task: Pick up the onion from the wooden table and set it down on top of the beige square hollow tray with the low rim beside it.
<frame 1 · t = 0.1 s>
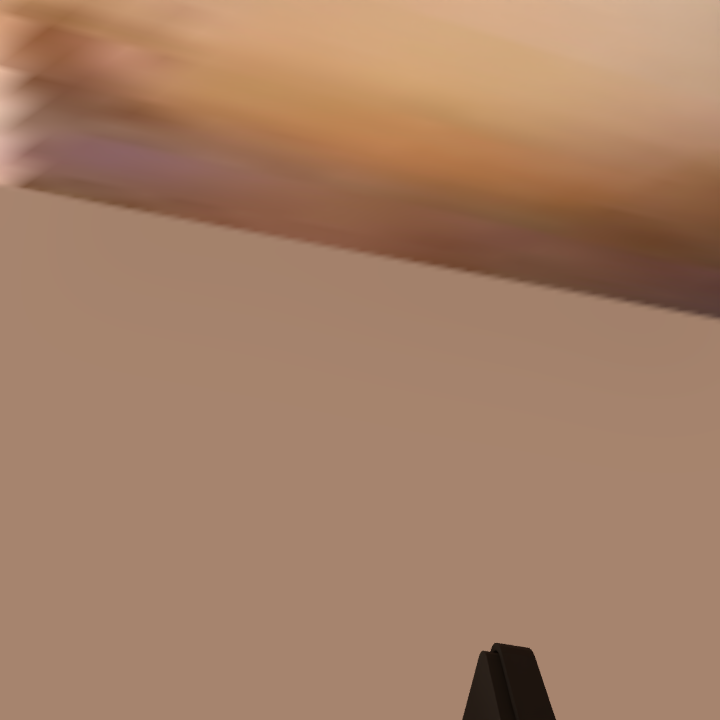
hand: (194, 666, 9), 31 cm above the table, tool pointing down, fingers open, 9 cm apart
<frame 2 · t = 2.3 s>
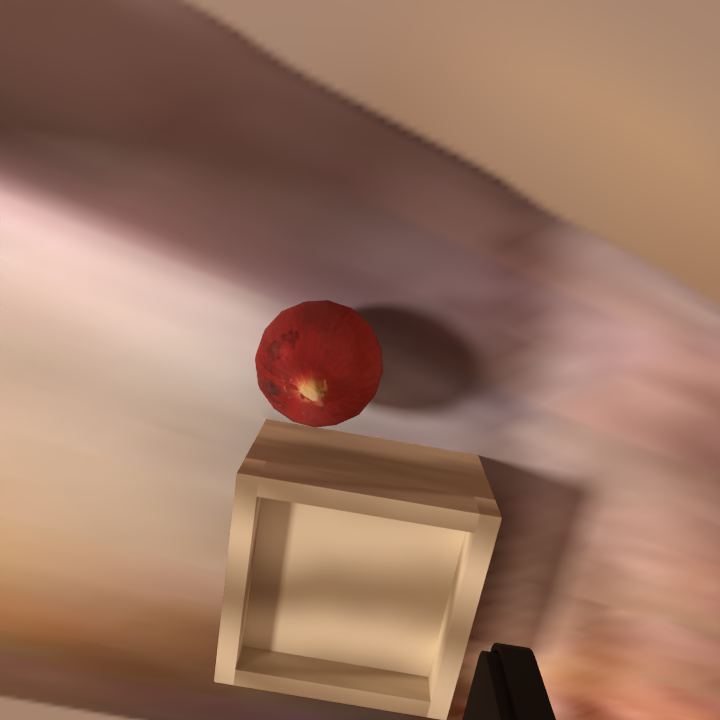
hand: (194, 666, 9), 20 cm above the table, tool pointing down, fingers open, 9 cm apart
beige square hollow tray: (355, 526, 32), on the table
onion: (327, 342, 28), on the table
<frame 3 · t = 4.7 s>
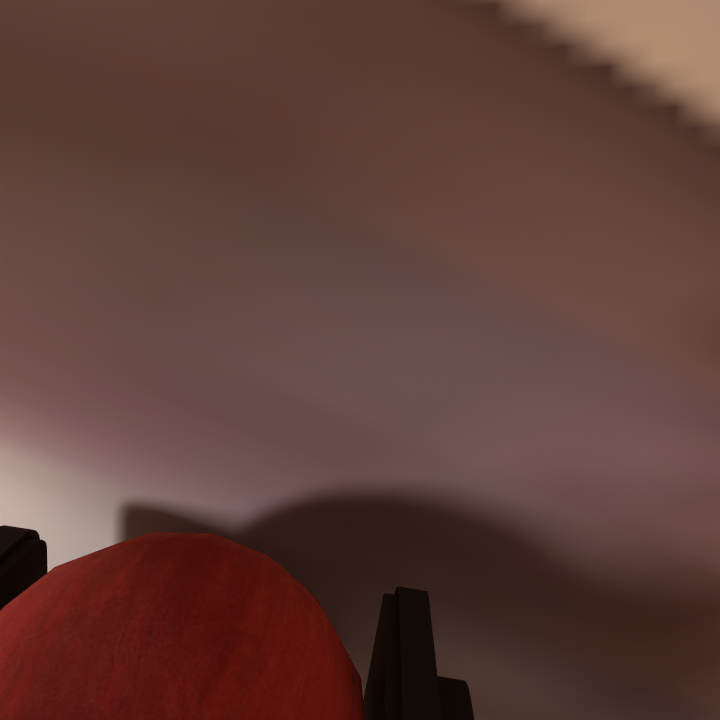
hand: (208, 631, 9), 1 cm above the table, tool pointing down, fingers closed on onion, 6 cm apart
onion: (232, 571, 11), on the table, touching gripper
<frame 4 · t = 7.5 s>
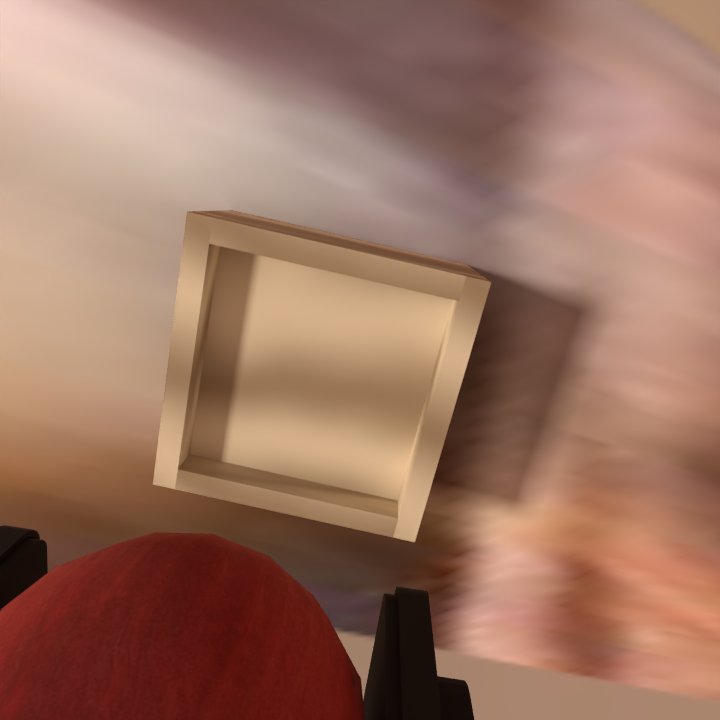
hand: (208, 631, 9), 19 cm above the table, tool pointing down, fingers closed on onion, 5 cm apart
beige square hollow tray: (326, 349, 28), on the table
onion: (232, 572, 11), point 18 cm above the table, touching gripper
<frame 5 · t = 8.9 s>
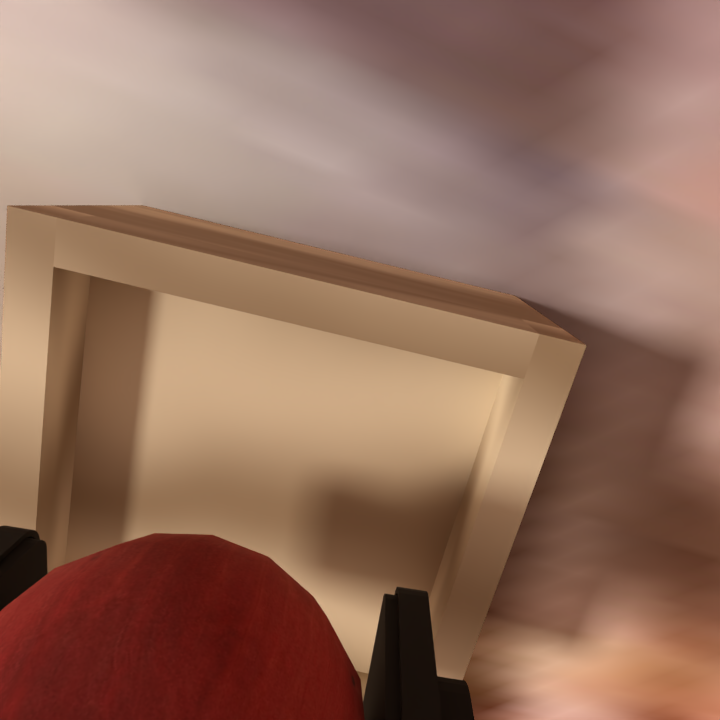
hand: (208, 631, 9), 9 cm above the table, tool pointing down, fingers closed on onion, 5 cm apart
beige square hollow tray: (294, 419, 19), on the table
onion: (232, 572, 11), point 8 cm above the table, touching gripper
when the fingers open (7 cm above the table, at t = 10.2 s): onion stays where it is, resting on beige square hollow tray.
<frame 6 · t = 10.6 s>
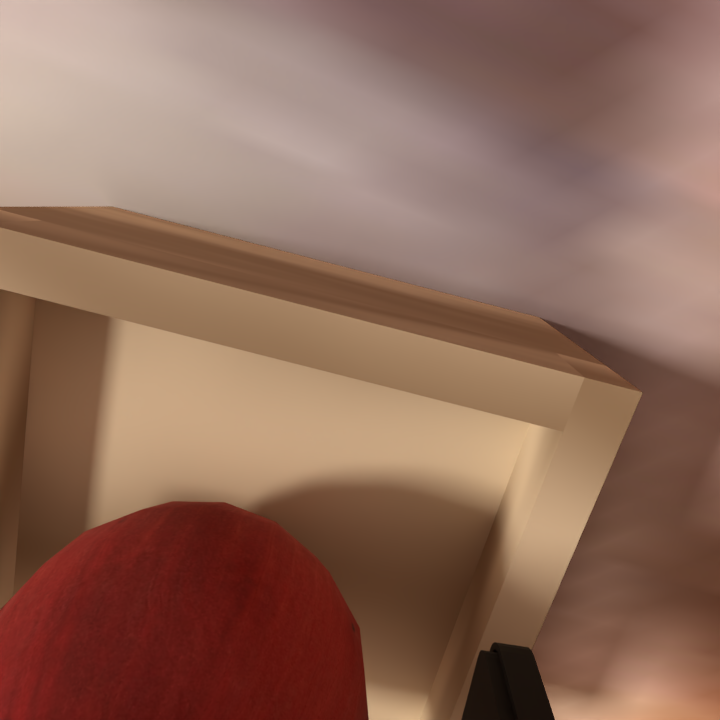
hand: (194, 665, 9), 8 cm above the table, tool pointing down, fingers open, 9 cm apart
beige square hollow tray: (285, 450, 17), on the table, touching onion
onion: (240, 541, 12), point 4 cm above the table, touching beige square hollow tray
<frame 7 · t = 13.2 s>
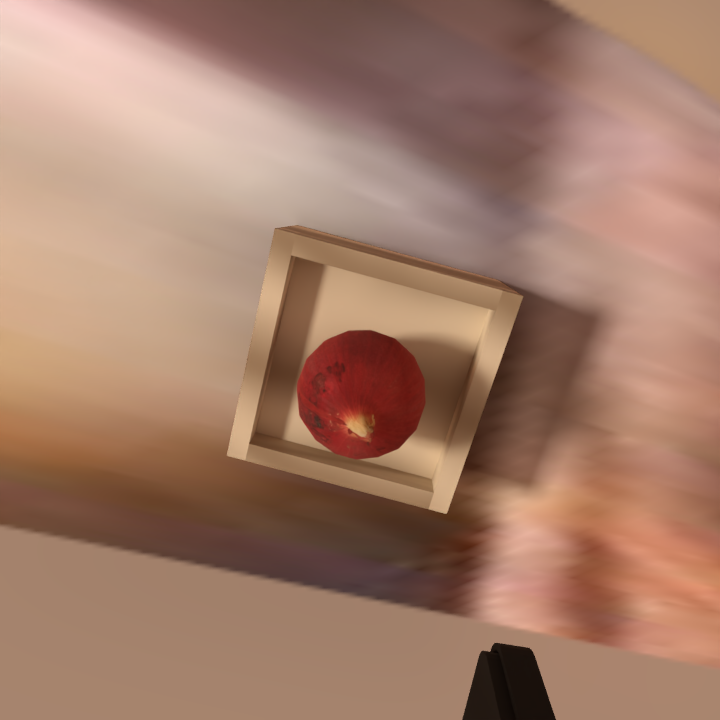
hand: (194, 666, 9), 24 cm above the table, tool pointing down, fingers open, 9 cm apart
beige square hollow tray: (371, 348, 33), on the table, touching onion
onion: (364, 369, 28), point 4 cm above the table, touching beige square hollow tray
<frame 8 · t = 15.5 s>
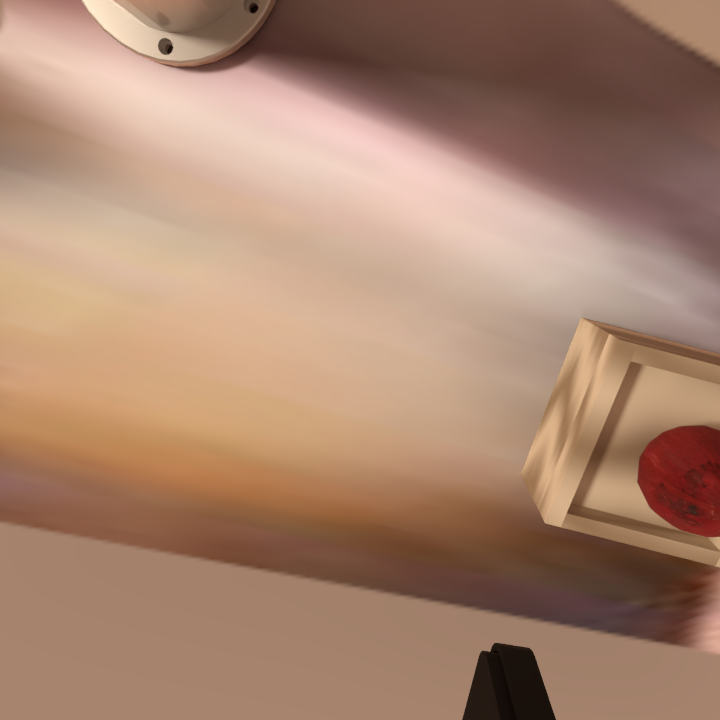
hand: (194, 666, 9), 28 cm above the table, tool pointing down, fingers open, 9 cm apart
beige square hollow tray: (629, 419, 37), on the table, touching onion
onion: (663, 449, 33), point 4 cm above the table, touching beige square hollow tray
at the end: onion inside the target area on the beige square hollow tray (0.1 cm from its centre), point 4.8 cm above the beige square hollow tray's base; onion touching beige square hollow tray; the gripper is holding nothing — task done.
